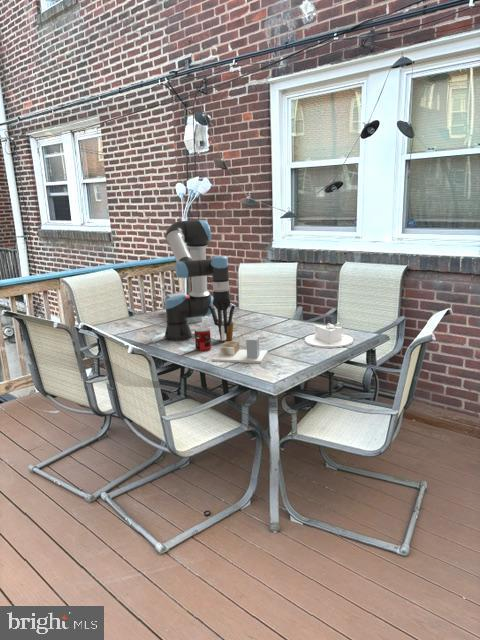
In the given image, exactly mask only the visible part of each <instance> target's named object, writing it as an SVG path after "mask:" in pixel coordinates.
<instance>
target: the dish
mask: <svg viewBox="0 0 480 640" xmlns="http://www.w3.org/2000/svg"><path fill="white" fill-rule="evenodd" d="M339 324H340V321H338V322H337V323H334V324H332V323H330V322H328V323H327V325H316V324H314V334H310V335H307V336H305V338H304V343H305V344H306V345H308V346H311V347H315V348H321V349H338V348H337V347H340V348H344V347H343V346H345V347H348V346H351V345H352V344H353V343H354V338H353V337H352V336H350V335H347V334H343V327H342V326H337V325H339ZM352 342H353V343H352ZM350 344H351V345H350Z"/></svg>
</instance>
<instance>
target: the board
mask: <svg viewBox="0 0 480 640" xmlns="http://www.w3.org/2000/svg"><path fill="white" fill-rule="evenodd" d="M259 352H260V355H259V357H258V358H247V349H240V348H239V351H238V352H237V353H236V354H235V355H234V356H228V355H220V350H219V351H218V352H217V353H216V354H215V355H213V357H211V361H212V362H226V363H227V362H228V363H229V362H230V363H250V364H262V362H263V361H264V359H265V358H266V356H267V355H268V353H269V350H268V349H267V350H263V349H259Z"/></svg>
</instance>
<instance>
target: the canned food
mask: <svg viewBox="0 0 480 640" xmlns="http://www.w3.org/2000/svg"><path fill="white" fill-rule="evenodd" d="M211 338H212V337H211V328H210V327H207V326H199V327H195V328H194V341H195V350H196V351H197V352H208V351H211V349H212V341H211Z"/></svg>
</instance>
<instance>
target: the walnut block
mask: <svg viewBox="0 0 480 640" xmlns="http://www.w3.org/2000/svg"><path fill="white" fill-rule="evenodd" d="M239 349H240V341H224V343H223V344H221V346H220V347H219V351H220V355H228V356H234V355H235V354H236V353H237V352H238V351H239Z"/></svg>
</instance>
